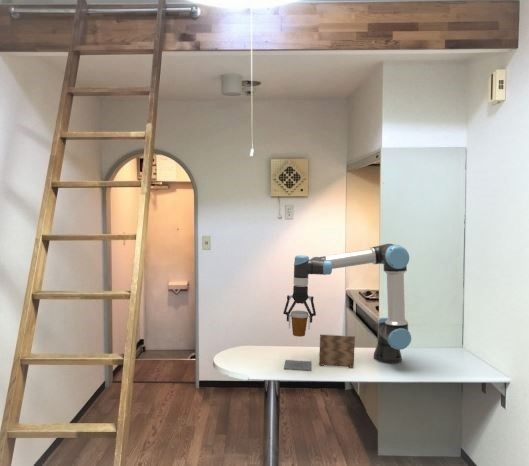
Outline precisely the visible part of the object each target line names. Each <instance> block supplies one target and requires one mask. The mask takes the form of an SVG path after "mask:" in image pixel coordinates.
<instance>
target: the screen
mask: <svg viewBox="0 0 529 466" xmlns="http://www.w3.org/2000/svg"><path fill="white" fill-rule="evenodd" d="M355 342H356V336H354V335H353V336H352V335H338V334H334V335H322V334H320V335H319V353H318V354H319V355H318V356H319V358H318V365H319V367H323V366H324V367H325V366H327V367H328V366H329V367H345V368H348V369H354V367H355V366H354V365H355Z"/></svg>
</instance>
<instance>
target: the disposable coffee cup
mask: <svg viewBox="0 0 529 466" xmlns="http://www.w3.org/2000/svg"><path fill="white" fill-rule="evenodd" d="M289 315H291V319H290V320H291V328H292V329H291V330H292V336H294V337H297V338H298V337H305V336H306V333H307V332H306V331H307V324H308V320H309V316H310V315H309V313H308V311H307V310H306V311H305V310H292V311H291V312H290V314H289Z"/></svg>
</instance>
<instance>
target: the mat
mask: <svg viewBox="0 0 529 466" xmlns="http://www.w3.org/2000/svg"><path fill="white" fill-rule="evenodd" d="M283 370H290V371H303V372H312V361H311V360H310V361H309V360H296V359H295V360H293V359H285V360H284V365H283Z"/></svg>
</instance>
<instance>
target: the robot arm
mask: <svg viewBox="0 0 529 466" xmlns="http://www.w3.org/2000/svg"><path fill="white" fill-rule="evenodd" d="M409 261H410V254H409V251H408V250H407V249H406V248H405V247H403V246H402V245H400V244H393V243H384V244H380V245H377V246H372V247H370V248H369V249H364V250H357V251H352V252H351V251H350V252H345V253H344V252H343V253H337V254H330V255H325V256H312V257H311V258H310V256H308V255H295V257H294V261H293V262H294V263H293V288H292V289H293V290H292V295H290V294H287V296H286V303H285V306H284V308H283V309H284V310H283V315H285V316H286V322H288V329H290V328H291V320H292V319H291V315H290V314H291V312H292V311H293V310H294V307H295V306H296V305H299V304H302V305H304V307H305V309H306V312H308V315H309V316H308V321H307V324H308V326H307V329H308V330H311V323H313V317H314V316H316V315H317V312H316V308H315V304H314V296H312V295H311V296H310V295H309V293H308V292H309V288H308V286H309V275H320V276H321V275H323V276H326V275H327V276H328V275H329V276H330V275H331V274H332V272H333V269H334V270H336V269H341V268H347V267H348V268H349V267H355V266H361V265H367V264H372V265H383V272H384V273H385V274H386V294H387V295H386V296H387V297H386V298H387V317H379V319H378V320H377V321H378V323H377V344H376V347H375V350H374V353H373V360H375V361H377V362H380V363H384V364H399V363H402V360H403V359H402V358H403V357H402V352H401V350H404V349H406V348H408V346H410V344H411V343H412V334H411V333H410V331H409V322H408V321H407V320H406V314H405V312H406V311H405V305H406V304H405V273H406V272H407V268H408V267H407V266H408V264H409ZM292 299H293V303H292V304H291V306H290V308H289V304H290V300H292ZM308 300H309V301H310V304H311V305H310V306H311V309H312V310H311V309H310V307H309V304H308V303H307V301H308ZM288 308H289V309H288ZM287 310H288V311H287Z"/></svg>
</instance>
